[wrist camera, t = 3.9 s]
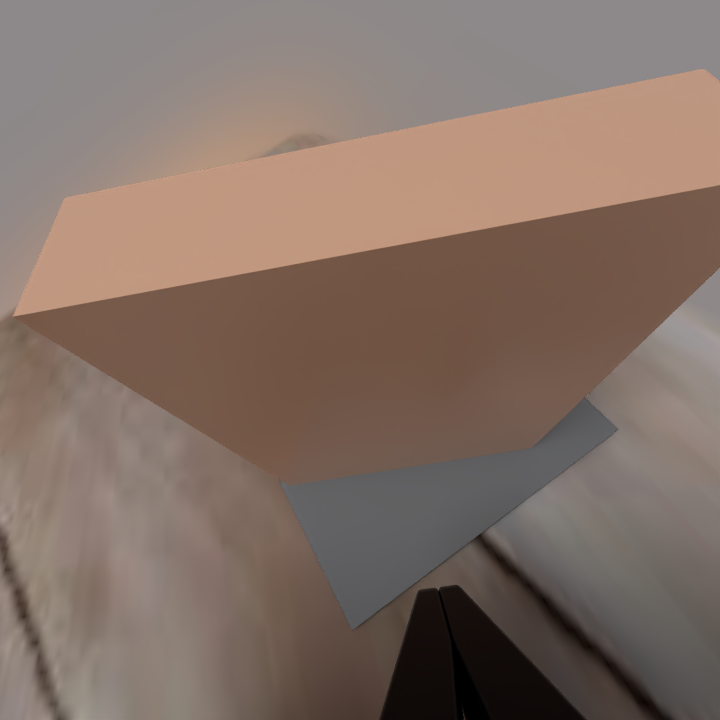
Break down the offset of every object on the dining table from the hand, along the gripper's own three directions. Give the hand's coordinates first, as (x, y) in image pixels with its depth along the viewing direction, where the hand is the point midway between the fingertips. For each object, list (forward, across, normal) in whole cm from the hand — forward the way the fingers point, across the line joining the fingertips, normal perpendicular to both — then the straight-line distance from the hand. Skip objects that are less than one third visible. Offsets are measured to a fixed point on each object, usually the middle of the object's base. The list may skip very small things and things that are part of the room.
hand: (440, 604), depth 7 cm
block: (+8, 0, -1) cm, 8 cm away
